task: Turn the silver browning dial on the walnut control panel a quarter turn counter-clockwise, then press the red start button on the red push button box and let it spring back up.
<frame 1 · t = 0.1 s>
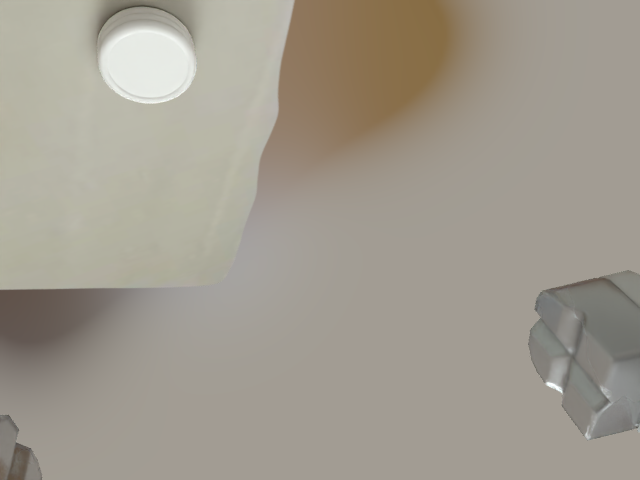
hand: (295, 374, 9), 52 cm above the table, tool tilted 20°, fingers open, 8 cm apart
white round disc stack: (146, 46, 61), on the table
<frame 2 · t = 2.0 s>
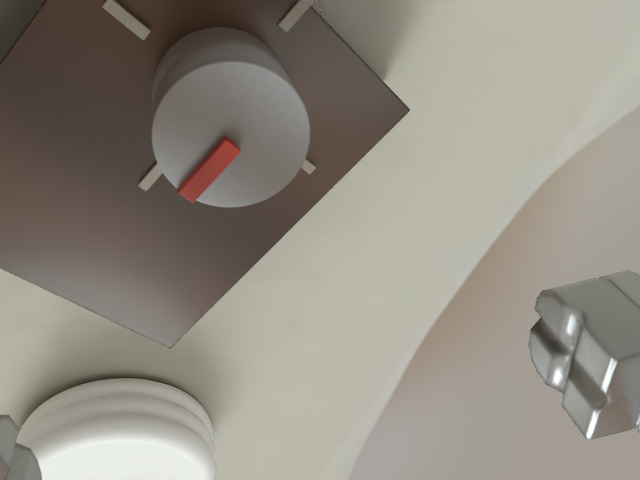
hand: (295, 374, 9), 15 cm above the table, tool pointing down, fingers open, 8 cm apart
dial panel: (164, 126, 22), on the table
white round disc stack: (119, 434, 31), on the table
dial: (227, 118, 17), point 5 cm above the table, hinge at 0.0°
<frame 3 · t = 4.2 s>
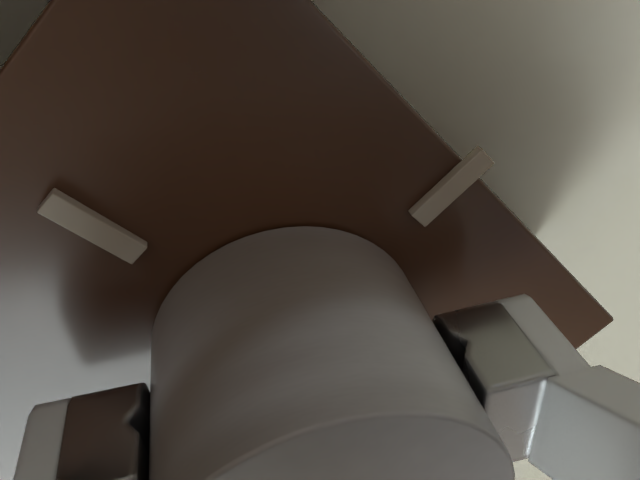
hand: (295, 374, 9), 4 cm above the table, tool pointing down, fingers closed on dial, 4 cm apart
dial panel: (172, 326, 13), on the table
dial: (313, 429, 8), point 5 cm above the table, hinge at 0.0°, touching gripper
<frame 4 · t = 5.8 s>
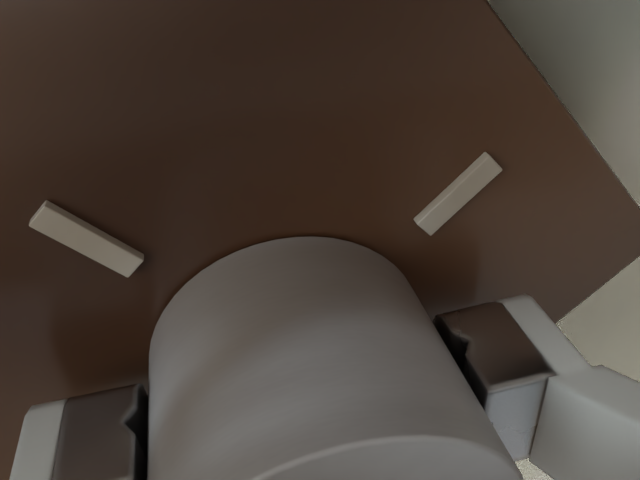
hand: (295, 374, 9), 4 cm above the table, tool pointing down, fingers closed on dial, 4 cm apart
dial panel: (136, 162, 10), on the table
dial: (316, 446, 8), point 5 cm above the table, hinge at 93.7°, touching gripper
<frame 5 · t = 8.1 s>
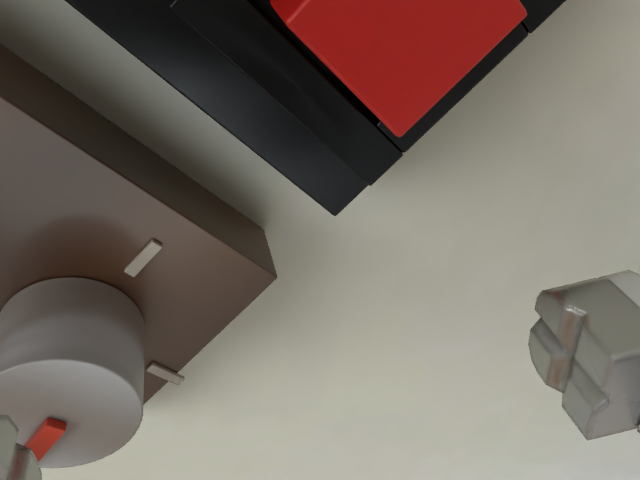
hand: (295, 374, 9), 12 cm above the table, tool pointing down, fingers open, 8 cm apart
dial panel: (3, 232, 19), on the table
start button: (395, 7, 12), point 6 cm above the table, slide at 0.1 cm
dial: (66, 374, 17), point 5 cm above the table, hinge at 93.8°
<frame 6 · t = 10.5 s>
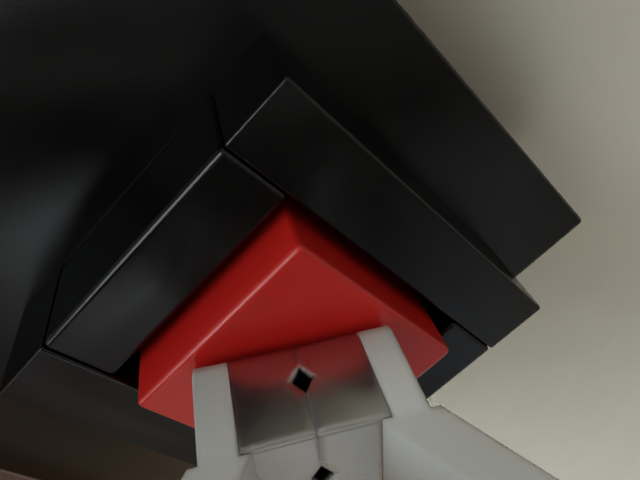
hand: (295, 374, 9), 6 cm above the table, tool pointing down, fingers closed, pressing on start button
start button: (290, 333, 10), point 5 cm above the table, slide at -0.9 cm, touching gripper
red push button box: (148, 116, 12), on the table
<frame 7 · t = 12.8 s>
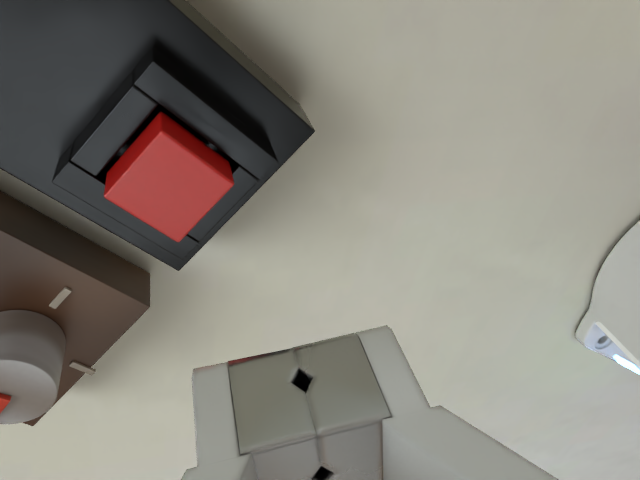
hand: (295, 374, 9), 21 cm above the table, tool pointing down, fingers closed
start button: (170, 178, 23), point 6 cm above the table, slide at 0.1 cm
red push button box: (113, 80, 26), on the table
dial: (12, 368, 28), point 5 cm above the table, hinge at 93.8°
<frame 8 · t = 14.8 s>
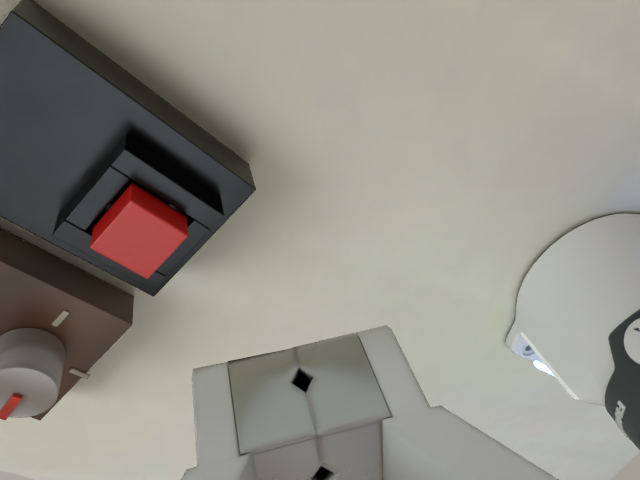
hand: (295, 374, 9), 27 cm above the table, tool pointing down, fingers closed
start button: (140, 231, 30), point 6 cm above the table, slide at 0.1 cm
red push button box: (100, 151, 34), on the table
dial: (23, 374, 35), point 5 cm above the table, hinge at 93.8°
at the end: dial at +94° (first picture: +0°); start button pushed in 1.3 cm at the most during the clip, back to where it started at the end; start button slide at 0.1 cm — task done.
